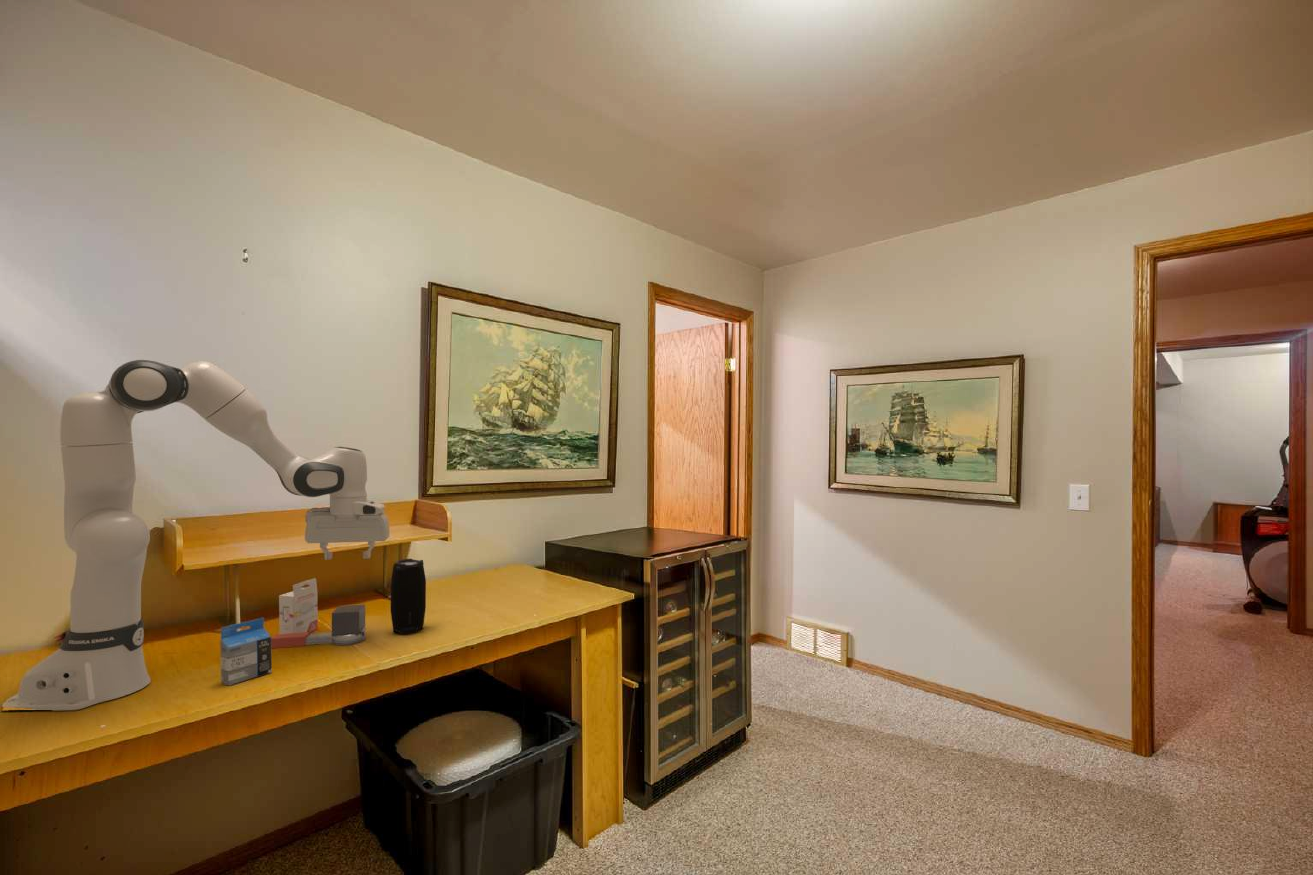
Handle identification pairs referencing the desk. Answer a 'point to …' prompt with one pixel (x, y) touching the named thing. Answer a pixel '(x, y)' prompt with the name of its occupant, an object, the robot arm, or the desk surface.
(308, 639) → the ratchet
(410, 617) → the portable speaker
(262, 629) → the label tape box
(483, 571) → the desk surface
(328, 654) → the desk surface
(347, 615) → the dark grey block
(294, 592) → the ink cartridge box
